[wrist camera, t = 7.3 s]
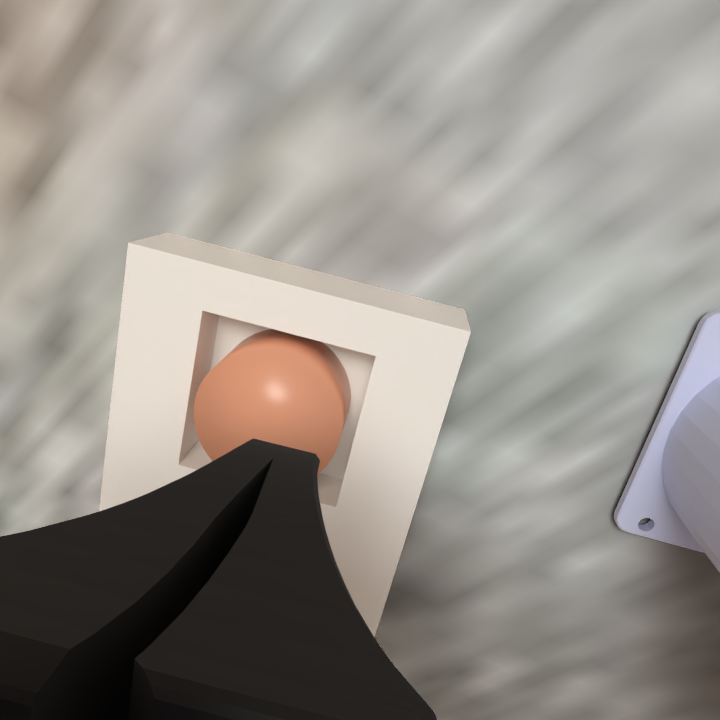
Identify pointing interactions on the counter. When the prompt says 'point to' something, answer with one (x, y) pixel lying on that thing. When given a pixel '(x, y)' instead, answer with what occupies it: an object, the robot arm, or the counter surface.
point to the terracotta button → (274, 397)
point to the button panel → (302, 318)
